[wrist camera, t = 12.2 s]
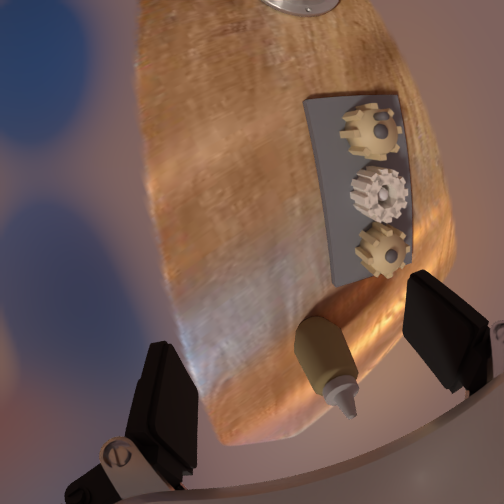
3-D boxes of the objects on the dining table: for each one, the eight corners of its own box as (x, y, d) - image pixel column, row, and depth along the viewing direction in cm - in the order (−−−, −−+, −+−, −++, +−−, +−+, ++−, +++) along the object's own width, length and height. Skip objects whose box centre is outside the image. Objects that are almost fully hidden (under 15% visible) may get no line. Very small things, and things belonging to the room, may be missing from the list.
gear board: (302, 101, 30) (323, 90, 23) (391, 96, 30) (424, 90, 23) (332, 282, 40) (352, 309, 33) (406, 259, 40) (433, 279, 33)
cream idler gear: (346, 169, 32) (361, 173, 28) (388, 162, 32) (405, 166, 28) (353, 219, 35) (367, 228, 31) (393, 209, 35) (409, 217, 31)
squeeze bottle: (332, 303, 41) (384, 385, 24) (337, 338, 44) (380, 417, 28) (283, 319, 41) (316, 412, 25) (293, 354, 44) (322, 440, 28)
